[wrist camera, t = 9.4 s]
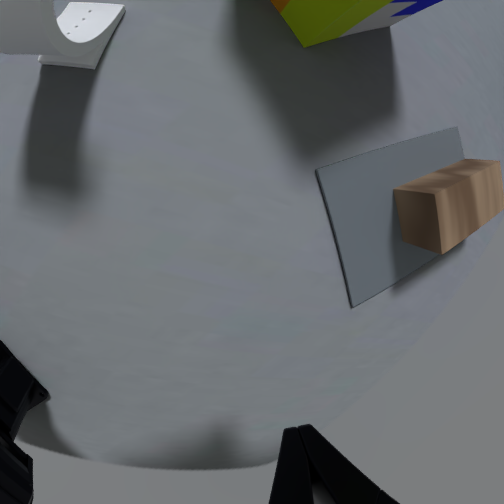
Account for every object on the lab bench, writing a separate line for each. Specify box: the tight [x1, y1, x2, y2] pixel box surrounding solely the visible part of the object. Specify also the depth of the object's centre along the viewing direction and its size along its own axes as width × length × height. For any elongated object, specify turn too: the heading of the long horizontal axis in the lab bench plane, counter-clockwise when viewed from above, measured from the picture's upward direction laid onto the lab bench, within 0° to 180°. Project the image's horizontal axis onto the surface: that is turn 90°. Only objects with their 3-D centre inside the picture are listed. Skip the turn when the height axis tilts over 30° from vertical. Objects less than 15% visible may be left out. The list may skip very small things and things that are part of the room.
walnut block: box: [393, 159, 504, 255], centre depth 20 cm, size 4×4×11 cm
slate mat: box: [316, 127, 464, 307], centre depth 21 cm, size 17×11×1 cm, turn 110°
